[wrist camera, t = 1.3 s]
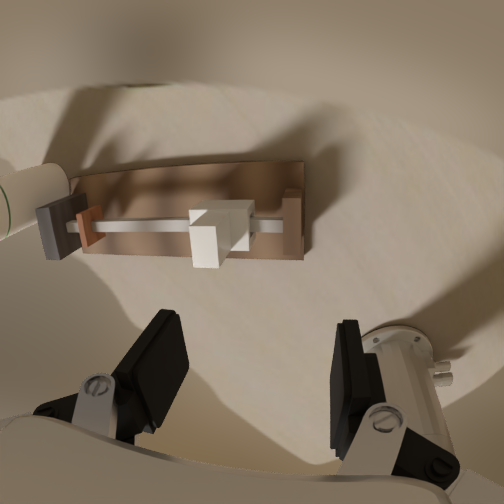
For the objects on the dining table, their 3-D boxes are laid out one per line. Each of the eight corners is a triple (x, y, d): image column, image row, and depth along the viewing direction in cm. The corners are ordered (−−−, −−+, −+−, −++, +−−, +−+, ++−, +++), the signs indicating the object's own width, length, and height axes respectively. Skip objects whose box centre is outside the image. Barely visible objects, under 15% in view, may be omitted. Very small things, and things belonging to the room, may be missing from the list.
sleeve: (254, 199, 28) (236, 223, 21) (256, 237, 30) (239, 271, 23) (202, 200, 29) (169, 223, 22) (205, 236, 30) (175, 268, 23)
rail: (304, 161, 29) (303, 170, 22) (303, 255, 33) (302, 292, 26) (75, 177, 34) (32, 191, 27) (88, 250, 38) (50, 275, 31)
